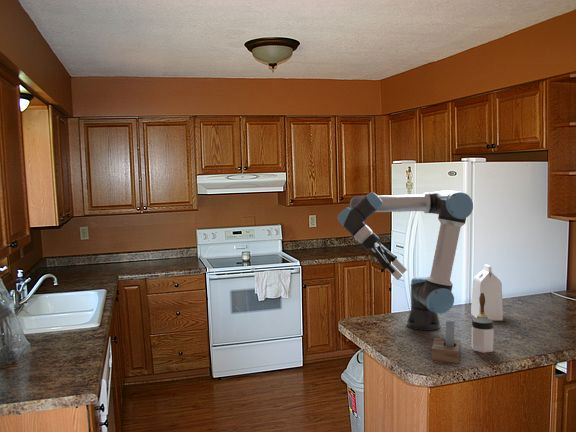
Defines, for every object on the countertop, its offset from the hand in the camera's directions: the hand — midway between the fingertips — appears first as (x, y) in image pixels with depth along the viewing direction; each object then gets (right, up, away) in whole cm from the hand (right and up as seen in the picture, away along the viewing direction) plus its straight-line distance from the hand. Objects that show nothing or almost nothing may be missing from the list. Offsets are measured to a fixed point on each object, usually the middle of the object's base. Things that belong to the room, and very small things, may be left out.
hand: (402, 274), depth 218 cm
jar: (+31, -30, -5) cm, 44 cm away
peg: (+16, -31, -12) cm, 37 cm away
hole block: (+15, -31, -11) cm, 36 cm away
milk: (+51, -26, +42) cm, 71 cm away
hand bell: (+43, -27, +26) cm, 57 cm away
